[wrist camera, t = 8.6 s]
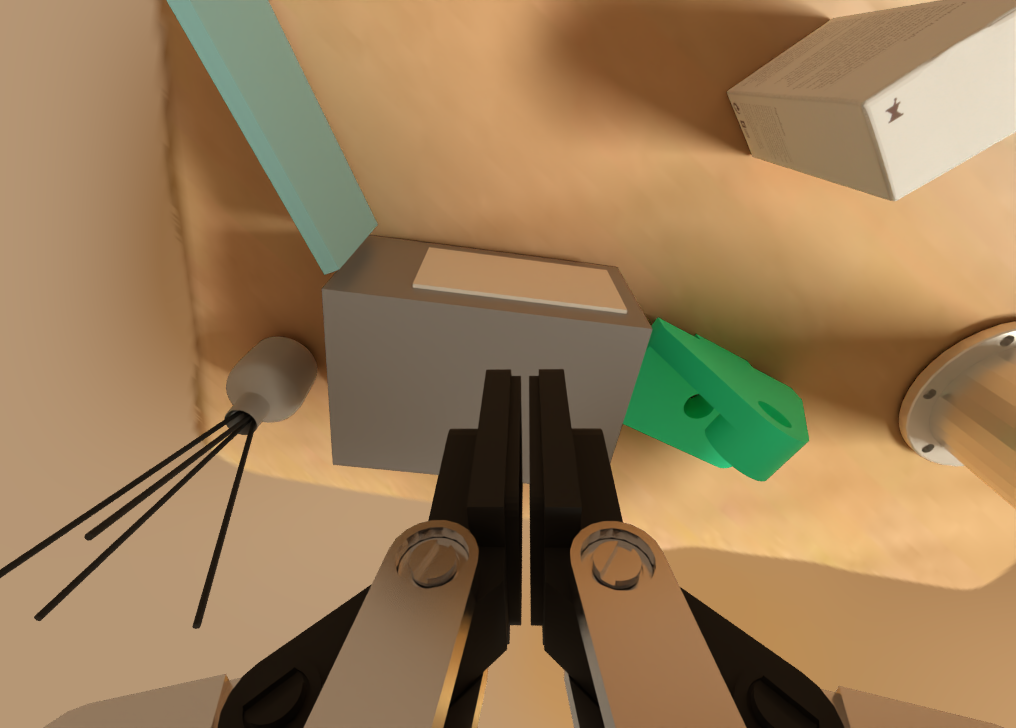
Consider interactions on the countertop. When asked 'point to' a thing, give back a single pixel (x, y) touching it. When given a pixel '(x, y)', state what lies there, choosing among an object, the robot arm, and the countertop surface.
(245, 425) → the reed diffuser
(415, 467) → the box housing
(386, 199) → the countertop surface
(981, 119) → the skincare box
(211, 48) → the side door
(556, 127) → the countertop surface
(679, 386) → the camera mount
